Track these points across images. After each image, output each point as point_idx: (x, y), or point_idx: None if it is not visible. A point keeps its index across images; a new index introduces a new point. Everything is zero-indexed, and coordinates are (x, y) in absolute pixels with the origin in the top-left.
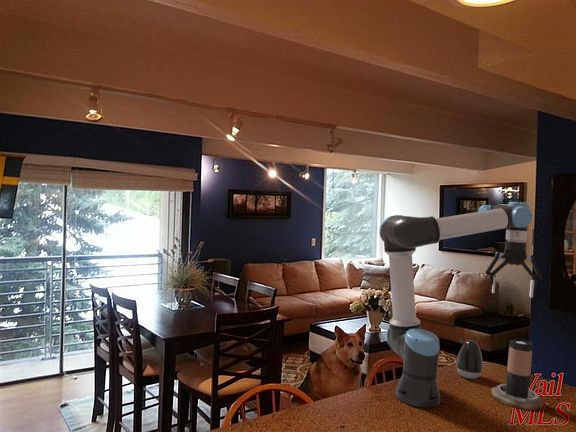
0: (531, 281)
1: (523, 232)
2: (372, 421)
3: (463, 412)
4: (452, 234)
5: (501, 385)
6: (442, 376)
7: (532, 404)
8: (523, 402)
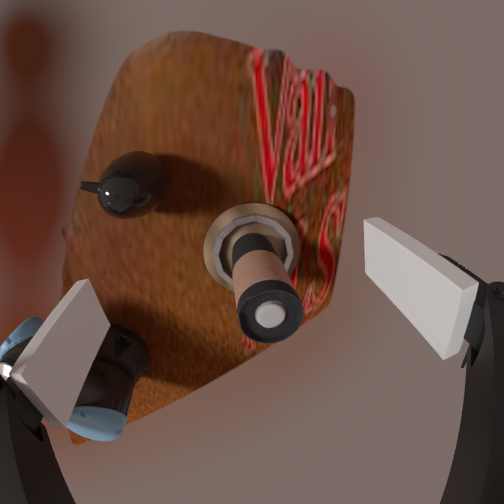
0: (441, 336)
1: None
2: None
3: (184, 356)
4: None
5: (220, 242)
6: (100, 223)
7: None
8: None
